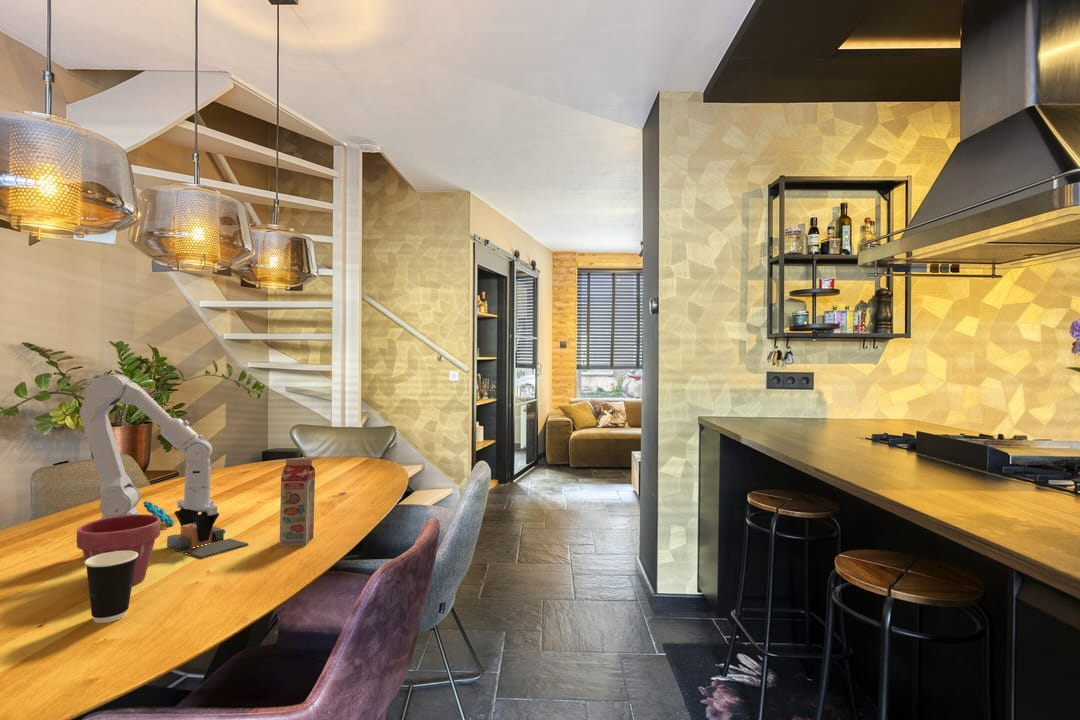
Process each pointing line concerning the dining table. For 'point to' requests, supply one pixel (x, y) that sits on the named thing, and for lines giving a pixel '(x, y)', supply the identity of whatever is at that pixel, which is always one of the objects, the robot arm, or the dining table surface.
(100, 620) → the dixie cup
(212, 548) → the panel
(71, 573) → the dining table surface
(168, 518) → the gear
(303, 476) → the juice carton
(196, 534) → the collar
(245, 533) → the dining table surface
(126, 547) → the plant pot
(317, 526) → the dining table surface
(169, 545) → the vise
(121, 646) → the dining table surface
